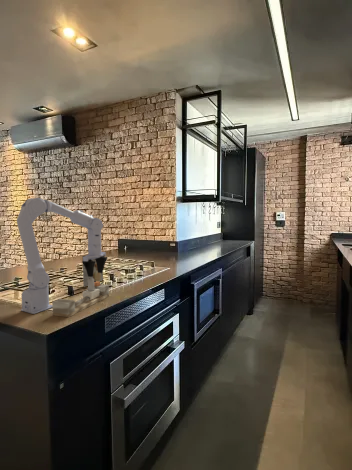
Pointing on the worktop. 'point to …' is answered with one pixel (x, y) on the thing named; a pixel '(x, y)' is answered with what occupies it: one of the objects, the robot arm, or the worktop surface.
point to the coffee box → (96, 275)
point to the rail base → (78, 303)
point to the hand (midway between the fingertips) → (95, 274)
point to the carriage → (91, 290)
